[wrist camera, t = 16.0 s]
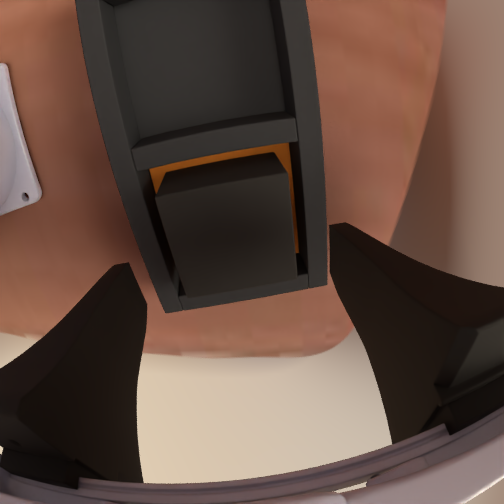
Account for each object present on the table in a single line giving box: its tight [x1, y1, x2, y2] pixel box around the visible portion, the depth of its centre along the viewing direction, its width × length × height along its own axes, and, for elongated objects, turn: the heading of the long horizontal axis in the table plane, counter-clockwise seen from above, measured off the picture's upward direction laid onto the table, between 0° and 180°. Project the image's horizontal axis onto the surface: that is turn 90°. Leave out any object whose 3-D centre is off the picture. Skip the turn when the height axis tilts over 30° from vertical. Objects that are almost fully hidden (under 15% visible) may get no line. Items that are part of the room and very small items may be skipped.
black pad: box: [155, 152, 297, 298], centre depth 14 cm, size 5×5×3 cm
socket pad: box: [75, 0, 327, 313], centre depth 13 cm, size 8×16×2 cm, turn 8°
